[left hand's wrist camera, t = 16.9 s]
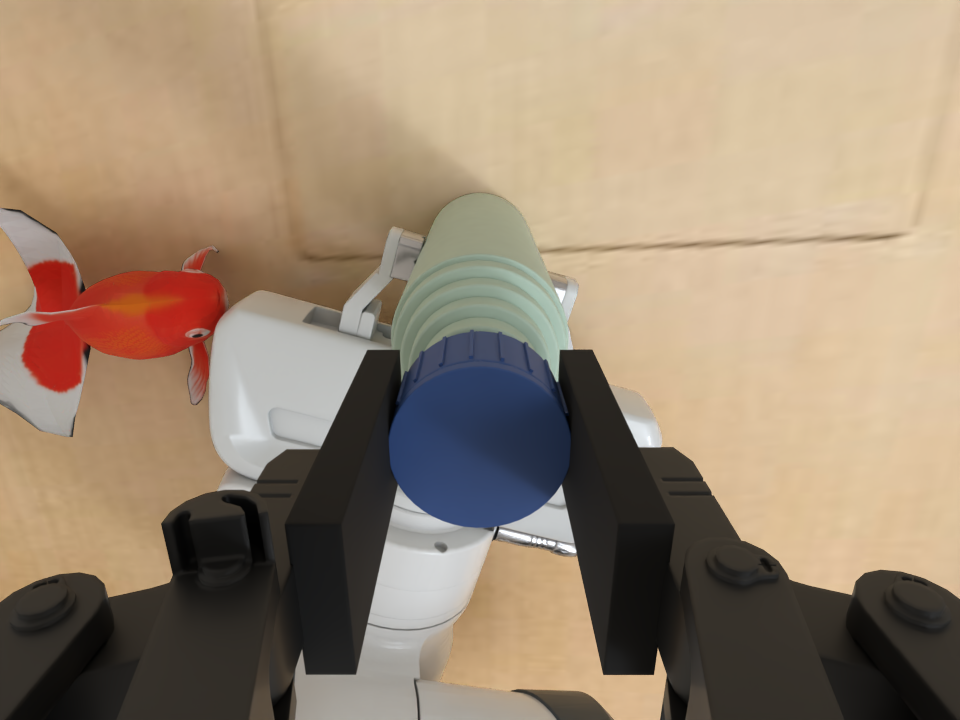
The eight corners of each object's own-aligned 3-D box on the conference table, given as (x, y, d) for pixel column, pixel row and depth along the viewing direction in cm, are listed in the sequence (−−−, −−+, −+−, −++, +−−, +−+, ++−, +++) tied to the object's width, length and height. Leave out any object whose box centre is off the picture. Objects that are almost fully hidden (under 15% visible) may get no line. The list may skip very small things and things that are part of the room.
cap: (453, 295, 14) (448, 326, 12) (595, 382, 14) (613, 426, 12) (368, 426, 15) (350, 476, 13) (503, 500, 16) (506, 558, 14)
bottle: (552, 244, 32) (660, 439, 13) (480, 314, 34) (481, 583, 14) (479, 169, 31) (477, 262, 12) (407, 246, 32) (299, 441, 13)
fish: (270, 467, 32) (77, 505, 22) (73, 405, 38) (-142, 415, 29) (303, 259, 31) (118, 212, 22) (97, 230, 37) (-114, 184, 28)
